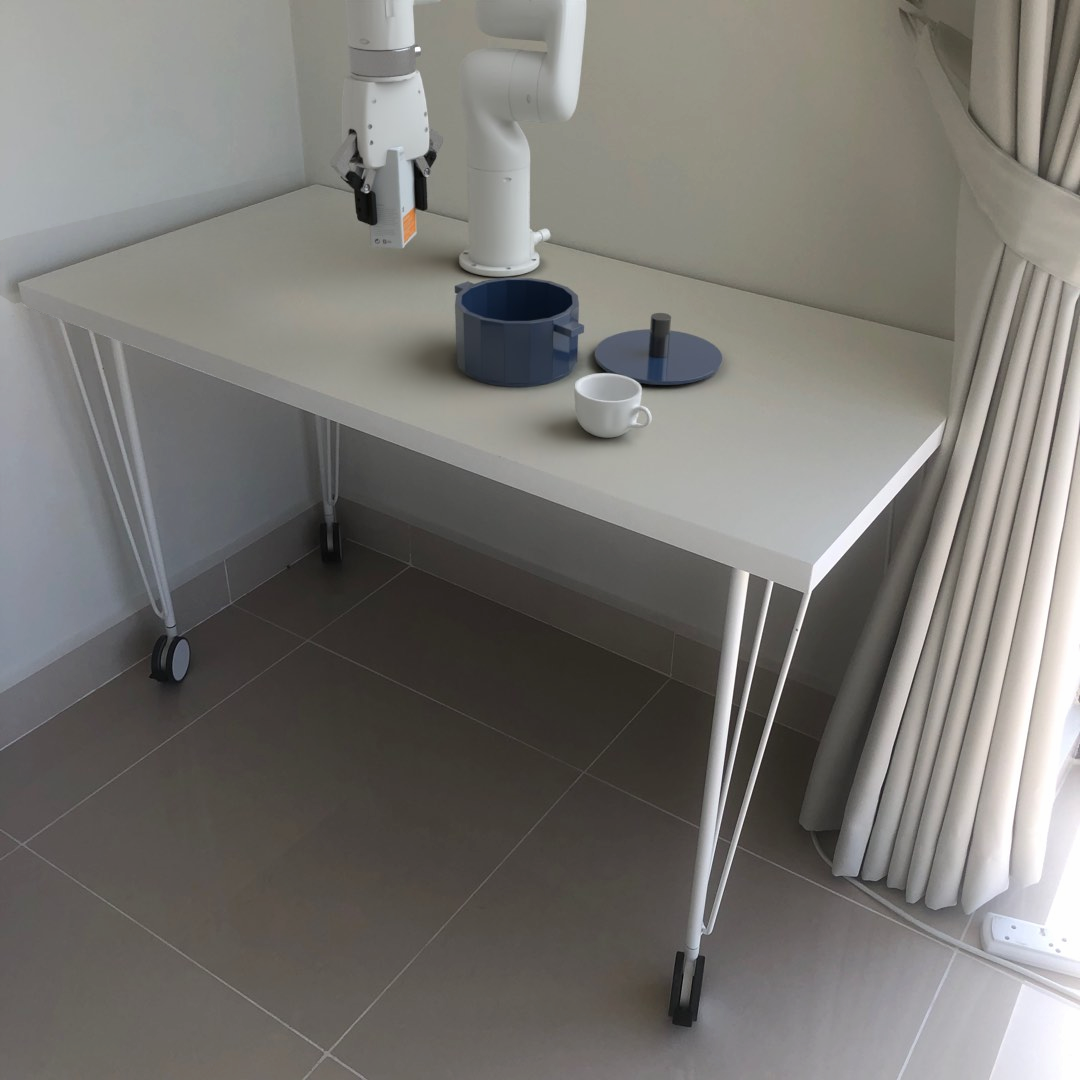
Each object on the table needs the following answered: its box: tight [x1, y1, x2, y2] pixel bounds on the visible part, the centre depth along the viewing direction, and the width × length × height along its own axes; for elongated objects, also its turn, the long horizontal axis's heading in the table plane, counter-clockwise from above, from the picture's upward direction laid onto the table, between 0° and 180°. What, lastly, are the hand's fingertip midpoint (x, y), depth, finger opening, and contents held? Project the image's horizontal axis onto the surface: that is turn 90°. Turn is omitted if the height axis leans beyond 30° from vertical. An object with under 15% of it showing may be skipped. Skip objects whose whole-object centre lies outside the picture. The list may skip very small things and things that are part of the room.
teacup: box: [573, 372, 653, 439], centre depth 135 cm, size 10×8×5 cm
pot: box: [454, 277, 585, 388], centre depth 150 cm, size 16×21×8 cm
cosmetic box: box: [368, 147, 418, 250], centre depth 141 cm, size 6×4×12 cm
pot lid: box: [594, 312, 723, 386], centre depth 151 cm, size 17×17×6 cm
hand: (392, 214), depth 143 cm, fingers closed on cosmetic box, 7 cm apart
